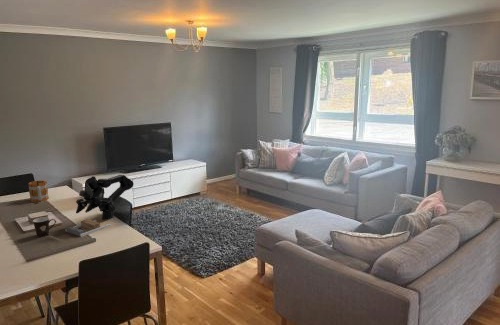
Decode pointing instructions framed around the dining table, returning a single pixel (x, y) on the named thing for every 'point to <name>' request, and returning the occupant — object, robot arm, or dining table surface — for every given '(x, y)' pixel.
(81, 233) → the rail plate
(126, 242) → the dining table surface
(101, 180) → the robot arm
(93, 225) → the walnut slider
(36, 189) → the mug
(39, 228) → the coffee mug
